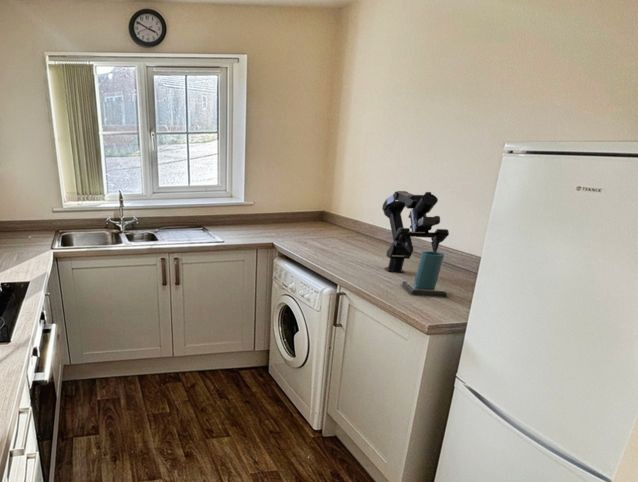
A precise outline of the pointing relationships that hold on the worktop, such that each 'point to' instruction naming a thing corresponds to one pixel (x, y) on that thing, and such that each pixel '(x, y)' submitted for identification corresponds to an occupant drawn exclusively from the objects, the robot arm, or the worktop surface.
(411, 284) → the pan
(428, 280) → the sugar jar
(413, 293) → the scale
